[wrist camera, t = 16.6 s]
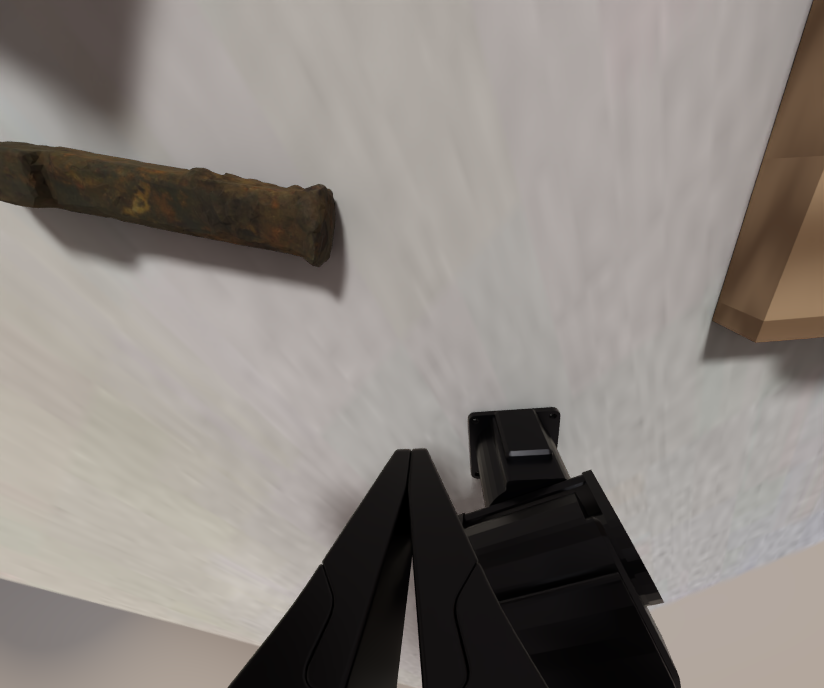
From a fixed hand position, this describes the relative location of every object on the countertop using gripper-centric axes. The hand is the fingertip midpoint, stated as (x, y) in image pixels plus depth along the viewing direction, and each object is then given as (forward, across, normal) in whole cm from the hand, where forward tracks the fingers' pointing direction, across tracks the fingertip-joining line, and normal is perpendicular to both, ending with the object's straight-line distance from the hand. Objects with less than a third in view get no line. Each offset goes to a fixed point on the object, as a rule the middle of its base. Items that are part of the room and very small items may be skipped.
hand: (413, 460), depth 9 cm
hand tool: (+13, +14, -7) cm, 20 cm away
